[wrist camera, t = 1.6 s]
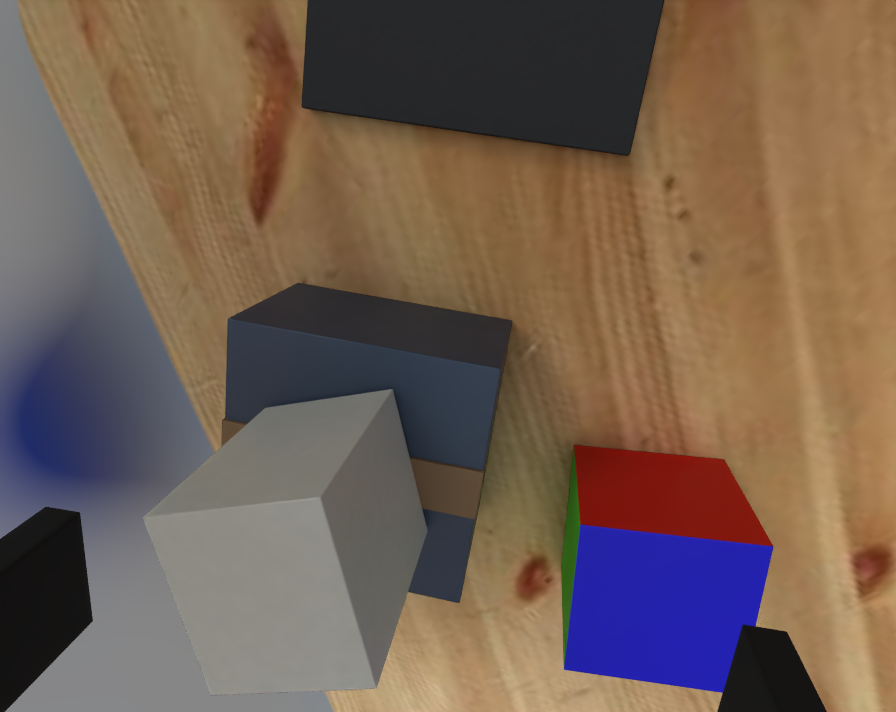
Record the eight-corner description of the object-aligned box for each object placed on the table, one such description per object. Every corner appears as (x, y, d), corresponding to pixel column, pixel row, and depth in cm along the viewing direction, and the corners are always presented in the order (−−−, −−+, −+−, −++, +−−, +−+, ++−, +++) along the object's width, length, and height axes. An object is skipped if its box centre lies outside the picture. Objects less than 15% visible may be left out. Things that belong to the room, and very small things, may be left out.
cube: (724, 459, 34) (773, 546, 26) (700, 583, 37) (739, 694, 29) (573, 445, 35) (580, 524, 28) (561, 566, 38) (563, 669, 30)
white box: (306, 542, 30) (210, 696, 21) (265, 407, 28) (141, 517, 20) (428, 531, 29) (376, 689, 20) (392, 388, 27) (320, 497, 18)
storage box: (284, 472, 39) (218, 552, 31) (296, 282, 35) (223, 319, 27) (478, 513, 37) (460, 606, 30) (513, 320, 33) (502, 370, 26)
